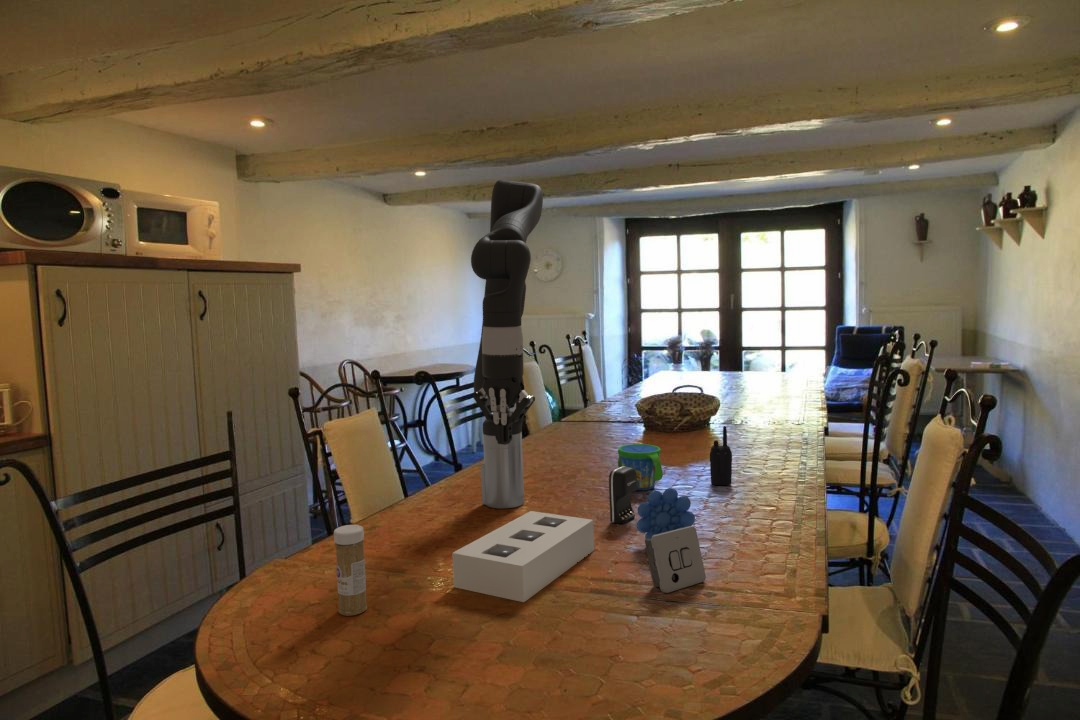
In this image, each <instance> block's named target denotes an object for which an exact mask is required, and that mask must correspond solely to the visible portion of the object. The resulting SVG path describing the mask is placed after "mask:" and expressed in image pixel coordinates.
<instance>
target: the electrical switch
mask: <svg viewBox="0 0 1080 720" xmlns="http://www.w3.org/2000/svg"><path fill="white" fill-rule="evenodd" d="M644 546H645V549H646V555H647V559H648V564H649V570H650V575H651V579H652V580H651V581H652V585H653V587H657V588H660V589H659V590H660V591H661V592H662V593H663V594H666V593H667V594H668V593H672V592H675V591H677V590H681V589H684V588H689V587H691V586H694V585H696V584H701V583H704V582H705V581H706V578H707V575H706V570H705V566H704V560H703V556H702V552H701V546H700V542H699V539H698V533H697V528H696V527H694V526H693V525H692V526H688V527H684V528H680V529H676V530H672V531H669V532H665V533H661V534H657V535H653V536H652V538H651V539H647V540H645V539H644Z"/></svg>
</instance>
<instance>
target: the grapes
mask: <svg viewBox="0 0 1080 720" xmlns="http://www.w3.org/2000/svg"><path fill="white" fill-rule="evenodd" d="M691 502H692V501H691V499H690V498H689V497H688V496H684V495H682V496H679V493H678V491H677V489H675V488H674V487H668V488H666V489H665V490H664V491H663V492H661V491H660V490H655V489H654V490H652V491H651V492H649V494H648V495H647V501H644V502H641V503H640V504H639V506H637V514H638V516H639V517H640V518H639V519H638V521H637V522H636V529H637V531H638V532H639V533H640V534H645V538H644V541H645V540H647V539H651V538H652V536H653V535H657V534H661V533H665V532H669V531H672V530H676V529H680V528H684V527H688V526H693V525H694V524H695V520H696V516H695V514H694V513H693V512H692V511H689V510H690V509H691Z"/></svg>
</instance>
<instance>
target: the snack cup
mask: <svg viewBox="0 0 1080 720" xmlns="http://www.w3.org/2000/svg"><path fill="white" fill-rule="evenodd" d="M661 452H662V449H661V448H660V446H657V445H653V444H646V443H635V444H634V443H633V444H632V443H631V444H624V445H621V446H619V447H618V449H617V454H618V460H617V466H618V467H617V468H619V467H622V466H625V467H630V468H633V469H635V471H636V473H637V490H636V491H649V490H651V489H654V487H655V486H656V482H659V481H661V480H662V478H663V477H664V476H663V475H664V474H663V467H662V464H661V459H660V456H661V454H662V453H661Z"/></svg>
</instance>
